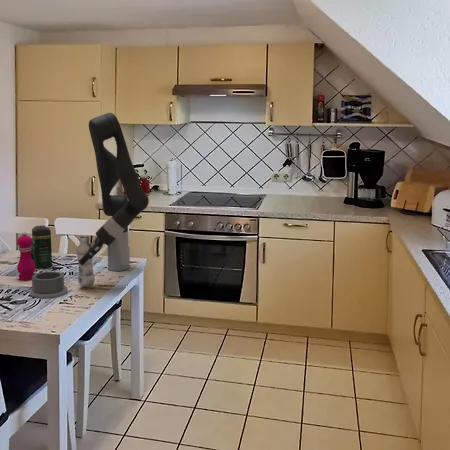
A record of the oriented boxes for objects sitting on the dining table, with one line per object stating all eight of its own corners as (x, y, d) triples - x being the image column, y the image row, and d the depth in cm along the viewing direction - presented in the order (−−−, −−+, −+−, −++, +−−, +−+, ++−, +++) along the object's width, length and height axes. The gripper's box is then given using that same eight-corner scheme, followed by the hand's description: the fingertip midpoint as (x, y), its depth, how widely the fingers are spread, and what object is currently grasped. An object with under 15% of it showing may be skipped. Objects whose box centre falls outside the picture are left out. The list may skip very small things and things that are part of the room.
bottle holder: (47, 284, 222) (46, 269, 221) (75, 289, 216) (74, 273, 215) (21, 294, 209) (20, 278, 208) (49, 300, 204) (49, 283, 202)
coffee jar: (53, 268, 246) (51, 227, 242) (35, 270, 242) (33, 229, 239) (50, 262, 254) (48, 223, 251) (32, 264, 251) (30, 225, 247)
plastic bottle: (98, 284, 221) (96, 236, 217) (88, 289, 215) (86, 239, 211) (84, 282, 223) (82, 234, 219) (74, 287, 217) (72, 238, 213)
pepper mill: (30, 281, 226) (27, 234, 222) (14, 280, 228) (11, 233, 224) (39, 276, 233) (36, 230, 229) (23, 275, 234) (21, 229, 231)
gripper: (103, 221, 222) (75, 250, 222) (102, 228, 208) (72, 260, 209) (117, 233, 224) (89, 262, 224) (117, 241, 210) (87, 272, 211)
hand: (81, 261), depth 217 cm, fingers closed on plastic bottle, 6 cm apart
